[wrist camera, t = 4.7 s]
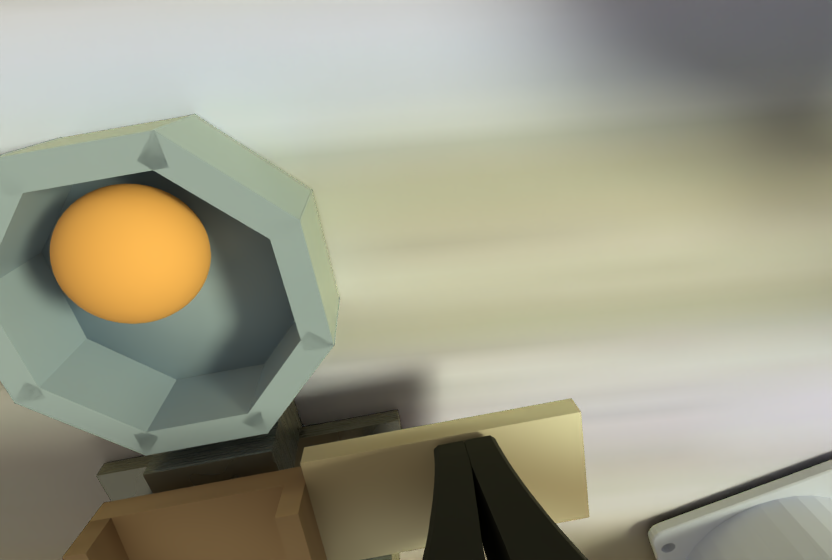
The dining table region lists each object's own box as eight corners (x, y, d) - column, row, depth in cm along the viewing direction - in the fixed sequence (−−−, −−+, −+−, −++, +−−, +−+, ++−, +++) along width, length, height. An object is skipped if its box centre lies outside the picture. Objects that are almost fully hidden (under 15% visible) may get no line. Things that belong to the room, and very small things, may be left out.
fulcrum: (421, 519, 18) (441, 690, 13) (164, 566, 17) (89, 757, 13) (387, 365, 15) (397, 514, 10) (79, 421, 14) (-59, 599, 10)
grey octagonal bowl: (356, 362, 14) (354, 417, 12) (105, 408, 14) (58, 472, 12) (289, 97, 11) (270, 108, 9) (-35, 153, 11) (-132, 179, 9)
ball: (212, 161, 11) (251, 282, 12) (101, 176, 12) (148, 289, 13) (116, 199, 8) (178, 348, 10) (-20, 216, 9) (54, 353, 10)
